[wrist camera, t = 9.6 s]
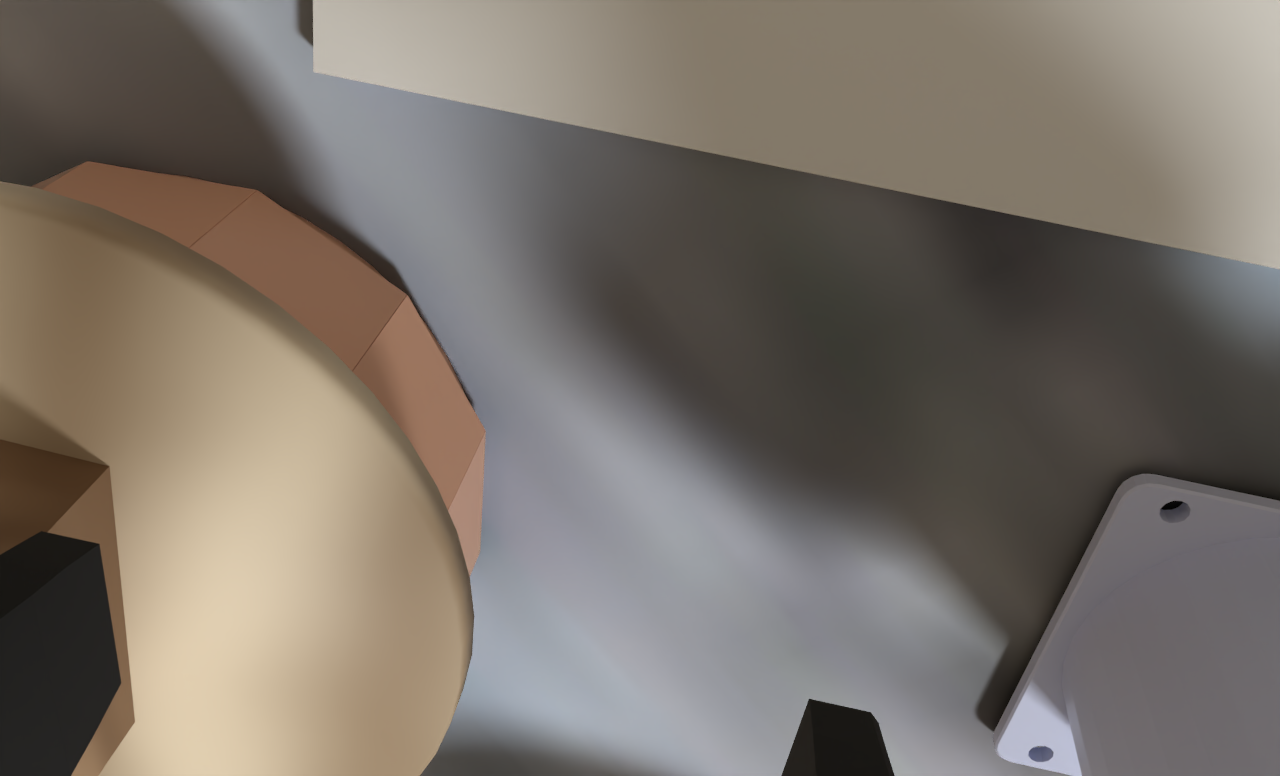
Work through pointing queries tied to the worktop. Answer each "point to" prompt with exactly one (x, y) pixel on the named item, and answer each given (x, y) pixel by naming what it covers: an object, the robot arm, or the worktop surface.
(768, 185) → the worktop surface
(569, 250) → the worktop surface
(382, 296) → the bowl
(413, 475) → the lid
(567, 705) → the worktop surface
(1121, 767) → the robot arm
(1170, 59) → the mat
